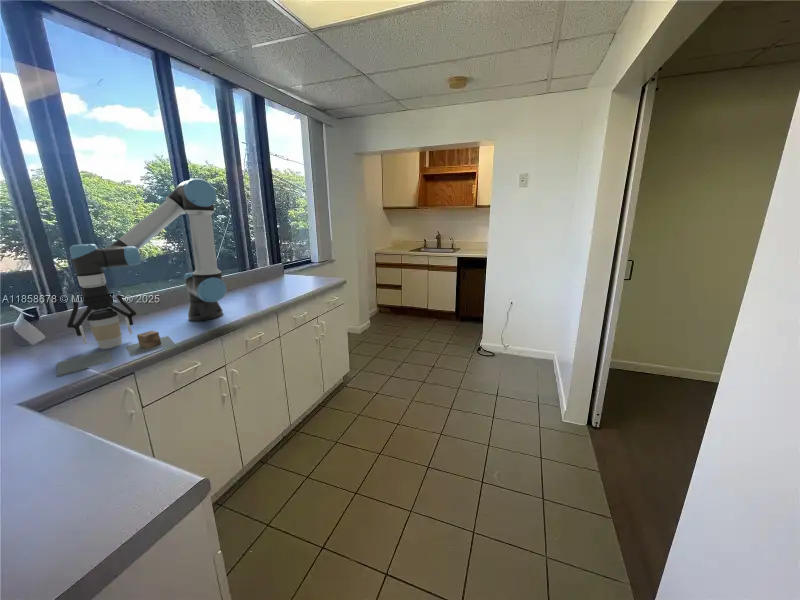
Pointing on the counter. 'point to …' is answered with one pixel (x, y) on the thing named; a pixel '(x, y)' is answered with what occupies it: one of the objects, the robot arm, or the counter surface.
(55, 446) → the counter surface
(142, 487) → the counter surface
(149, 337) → the walnut block
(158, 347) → the pad
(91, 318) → the coffee cup
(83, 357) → the pad
